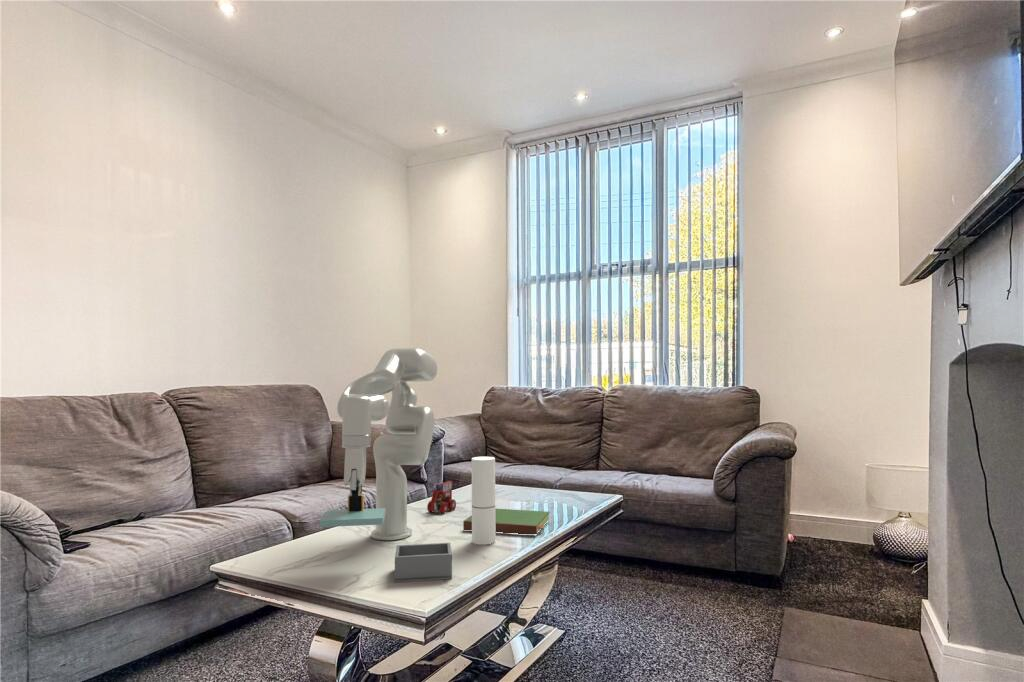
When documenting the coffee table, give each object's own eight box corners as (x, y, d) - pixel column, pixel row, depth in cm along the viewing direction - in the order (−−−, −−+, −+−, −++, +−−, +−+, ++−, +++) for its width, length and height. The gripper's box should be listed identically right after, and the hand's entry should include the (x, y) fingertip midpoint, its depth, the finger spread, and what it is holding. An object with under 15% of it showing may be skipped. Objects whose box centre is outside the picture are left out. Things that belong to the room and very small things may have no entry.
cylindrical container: (495, 538, 181) (495, 456, 182) (495, 544, 174) (495, 459, 175) (472, 538, 180) (471, 456, 182) (471, 545, 173) (471, 460, 175)
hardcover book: (463, 532, 189) (463, 521, 189) (482, 518, 207) (482, 507, 207) (538, 538, 182) (538, 526, 182) (551, 523, 200) (551, 511, 200)
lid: (326, 516, 158) (326, 495, 158) (385, 513, 160) (385, 493, 161) (318, 527, 147) (319, 504, 147) (382, 524, 149) (382, 502, 149)
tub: (396, 568, 154) (396, 545, 154) (450, 565, 156) (450, 542, 156) (394, 582, 144) (394, 557, 144) (452, 578, 146) (451, 554, 146)
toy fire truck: (423, 514, 212) (423, 485, 212) (443, 506, 223) (443, 479, 223) (439, 516, 209) (439, 486, 209) (458, 508, 220) (458, 480, 220)
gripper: (346, 438, 167) (345, 504, 165) (338, 445, 151) (337, 517, 150) (373, 438, 168) (372, 503, 167) (367, 444, 152) (367, 516, 151)
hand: (355, 509), depth 158 cm, fingers closed on lid
